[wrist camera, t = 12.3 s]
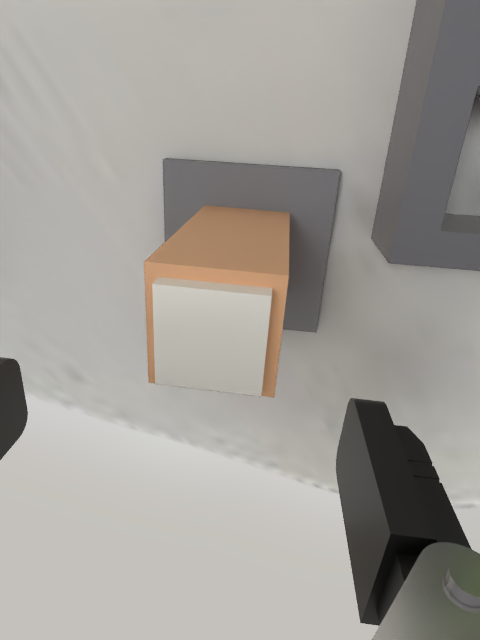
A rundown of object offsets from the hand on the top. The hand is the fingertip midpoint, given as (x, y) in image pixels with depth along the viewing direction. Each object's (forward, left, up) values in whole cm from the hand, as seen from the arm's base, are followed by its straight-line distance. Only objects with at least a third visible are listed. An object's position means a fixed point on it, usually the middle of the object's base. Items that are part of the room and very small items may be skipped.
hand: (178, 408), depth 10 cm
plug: (0, +1, -12) cm, 12 cm away
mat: (0, +1, -12) cm, 12 cm away
